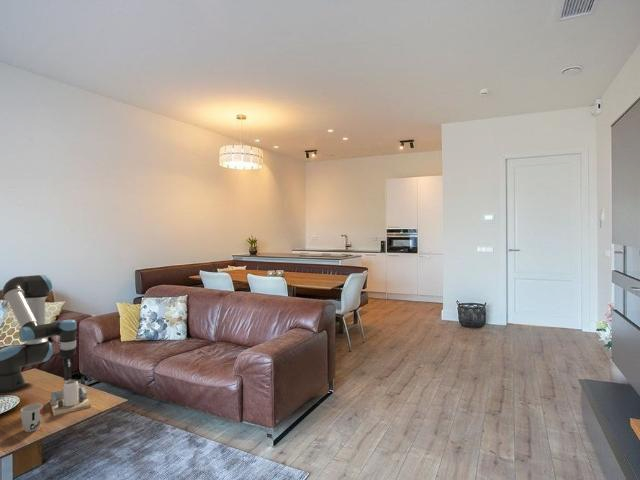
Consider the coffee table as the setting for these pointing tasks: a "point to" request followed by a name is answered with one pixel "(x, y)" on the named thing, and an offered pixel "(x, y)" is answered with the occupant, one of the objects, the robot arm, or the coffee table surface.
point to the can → (70, 393)
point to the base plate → (62, 409)
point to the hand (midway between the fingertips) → (67, 390)
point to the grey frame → (61, 394)
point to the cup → (31, 416)
